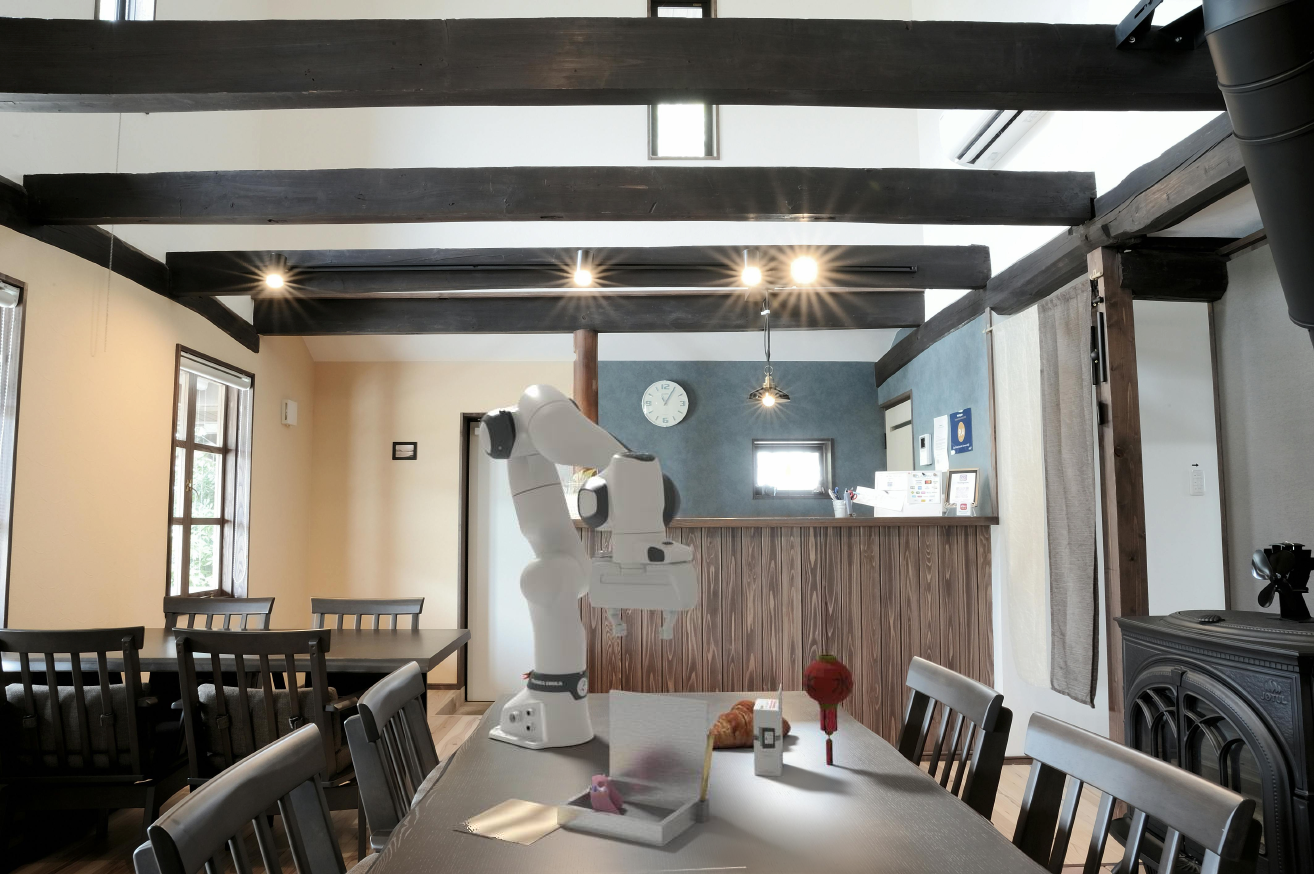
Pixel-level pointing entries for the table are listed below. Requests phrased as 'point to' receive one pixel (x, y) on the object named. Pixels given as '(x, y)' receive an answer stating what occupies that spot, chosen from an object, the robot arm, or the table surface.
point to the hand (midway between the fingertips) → (642, 637)
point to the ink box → (768, 736)
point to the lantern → (828, 690)
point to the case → (651, 767)
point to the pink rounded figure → (605, 795)
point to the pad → (516, 821)
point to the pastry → (738, 727)
